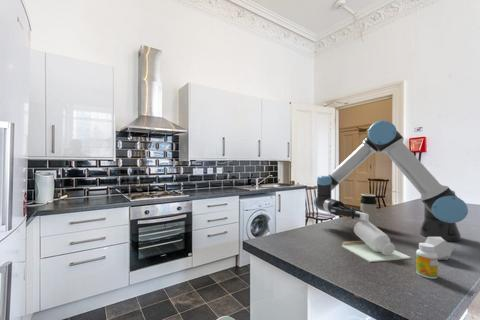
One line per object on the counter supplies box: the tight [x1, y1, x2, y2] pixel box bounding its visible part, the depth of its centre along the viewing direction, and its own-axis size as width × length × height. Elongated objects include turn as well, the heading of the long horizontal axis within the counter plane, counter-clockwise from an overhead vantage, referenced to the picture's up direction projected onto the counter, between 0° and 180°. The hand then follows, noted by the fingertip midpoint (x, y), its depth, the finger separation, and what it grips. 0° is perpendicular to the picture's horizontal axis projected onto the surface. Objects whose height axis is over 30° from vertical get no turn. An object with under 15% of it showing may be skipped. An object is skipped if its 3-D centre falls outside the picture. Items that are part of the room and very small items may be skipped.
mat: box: [341, 244, 412, 263], centre depth 92 cm, size 16×18×1 cm
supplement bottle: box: [415, 242, 439, 280], centre depth 74 cm, size 5×5×10 cm
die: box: [424, 237, 455, 261], centre depth 87 cm, size 8×9×10 cm
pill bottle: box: [353, 219, 396, 256], centre depth 93 cm, size 8×8×15 cm
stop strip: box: [341, 239, 366, 246], centre depth 101 cm, size 1×16×2 cm, turn 102°
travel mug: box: [360, 193, 378, 228], centre depth 131 cm, size 8×8×18 cm
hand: (367, 217), depth 96 cm, fingers closed
